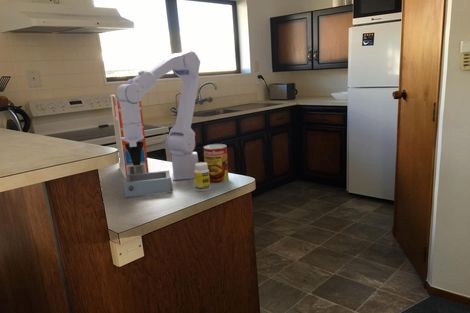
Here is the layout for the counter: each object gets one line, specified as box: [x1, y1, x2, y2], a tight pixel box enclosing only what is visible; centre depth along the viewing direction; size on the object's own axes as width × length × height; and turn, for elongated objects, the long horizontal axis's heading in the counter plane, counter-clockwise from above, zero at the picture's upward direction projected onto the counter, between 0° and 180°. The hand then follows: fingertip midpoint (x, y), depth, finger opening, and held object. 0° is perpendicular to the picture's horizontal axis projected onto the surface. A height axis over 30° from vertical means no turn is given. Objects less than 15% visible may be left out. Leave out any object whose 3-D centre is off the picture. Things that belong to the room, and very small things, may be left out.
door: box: [123, 176, 173, 198], centre depth 117 cm, size 14×2×4 cm, turn 102°
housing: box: [124, 170, 171, 182], centre depth 123 cm, size 14×10×4 cm
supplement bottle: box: [194, 161, 211, 192], centre depth 120 cm, size 5×5×8 cm
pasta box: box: [109, 93, 150, 180], centre depth 144 cm, size 23×8×30 cm, turn 23°
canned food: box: [203, 143, 229, 185], centre depth 129 cm, size 8×8×12 cm
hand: (136, 164), depth 121 cm, fingers closed
